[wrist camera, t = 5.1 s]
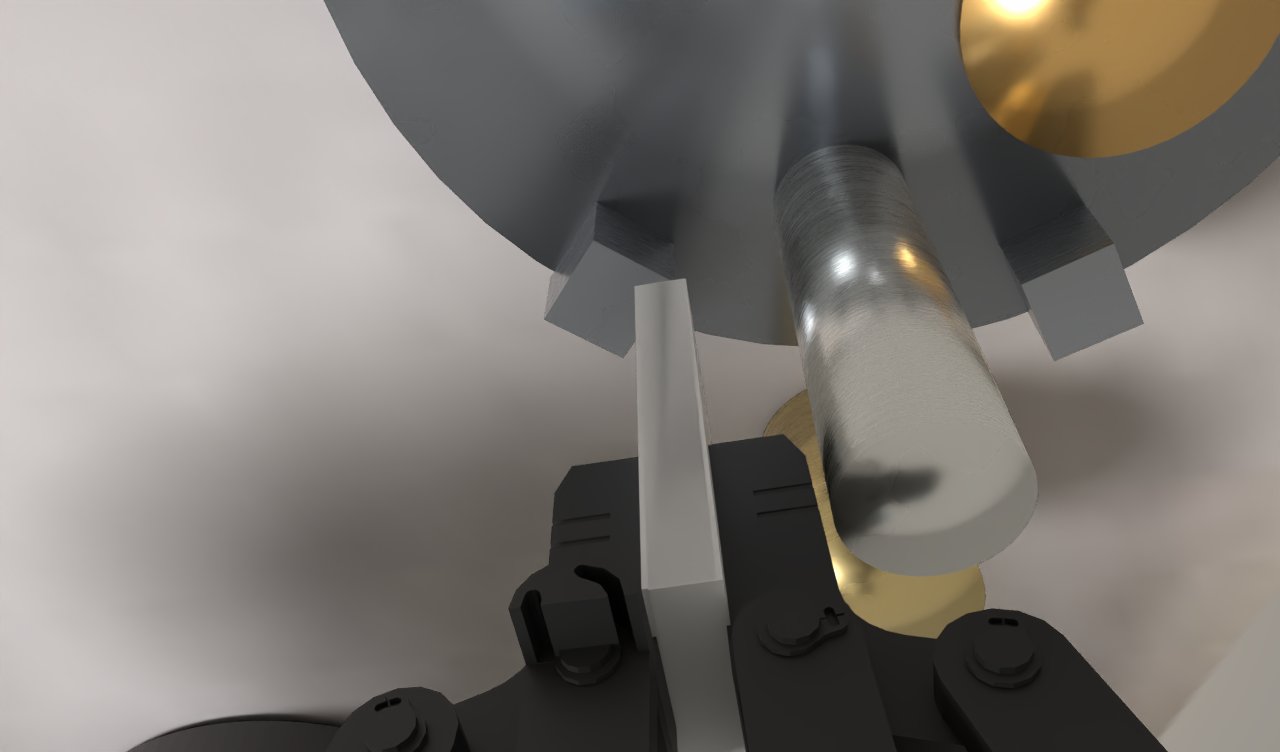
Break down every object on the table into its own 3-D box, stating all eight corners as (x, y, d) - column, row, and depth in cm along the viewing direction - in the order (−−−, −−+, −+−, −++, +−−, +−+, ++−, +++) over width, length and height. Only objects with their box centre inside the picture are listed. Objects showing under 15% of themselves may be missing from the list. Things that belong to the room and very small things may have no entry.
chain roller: (880, 531, 27) (920, 694, 23) (732, 485, 26) (747, 645, 22) (964, 411, 25) (1025, 566, 21) (806, 357, 24) (838, 507, 20)
